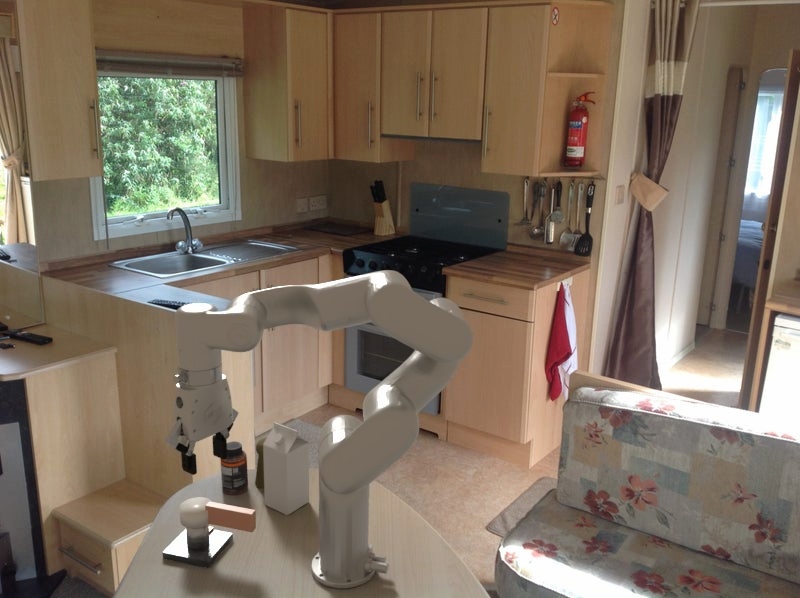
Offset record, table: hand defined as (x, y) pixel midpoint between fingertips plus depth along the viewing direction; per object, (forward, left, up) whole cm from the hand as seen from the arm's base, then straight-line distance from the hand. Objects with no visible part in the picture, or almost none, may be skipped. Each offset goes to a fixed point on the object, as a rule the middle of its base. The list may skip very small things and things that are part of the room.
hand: (205, 463), depth 136 cm
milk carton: (-4, -27, -24) cm, 36 cm away
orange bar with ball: (+2, -6, -17) cm, 18 cm away
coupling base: (+6, -6, -24) cm, 25 cm away
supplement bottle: (+10, -29, -24) cm, 39 cm away
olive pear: (+4, -34, -24) cm, 42 cm away
